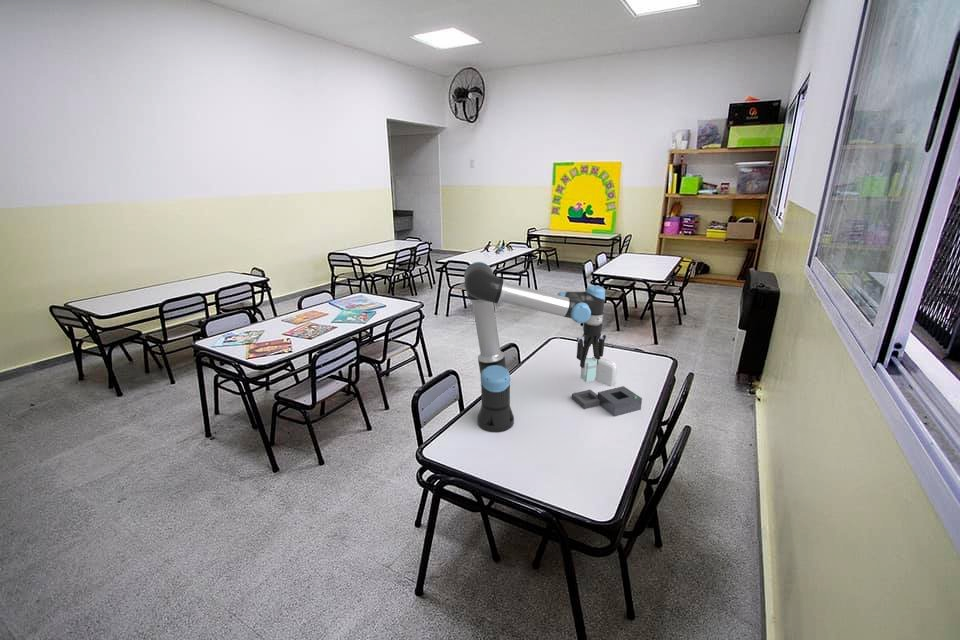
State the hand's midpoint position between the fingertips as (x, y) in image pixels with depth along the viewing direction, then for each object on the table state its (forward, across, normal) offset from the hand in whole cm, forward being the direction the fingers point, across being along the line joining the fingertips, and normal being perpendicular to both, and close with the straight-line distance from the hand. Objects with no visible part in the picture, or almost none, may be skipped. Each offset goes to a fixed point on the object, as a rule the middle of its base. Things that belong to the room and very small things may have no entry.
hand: (588, 372), depth 191 cm
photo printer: (+15, +20, +12) cm, 27 cm away
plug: (+3, 0, 0) cm, 3 cm away
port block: (+15, +11, -9) cm, 20 cm away
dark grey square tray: (+15, +1, 0) cm, 15 cm away
